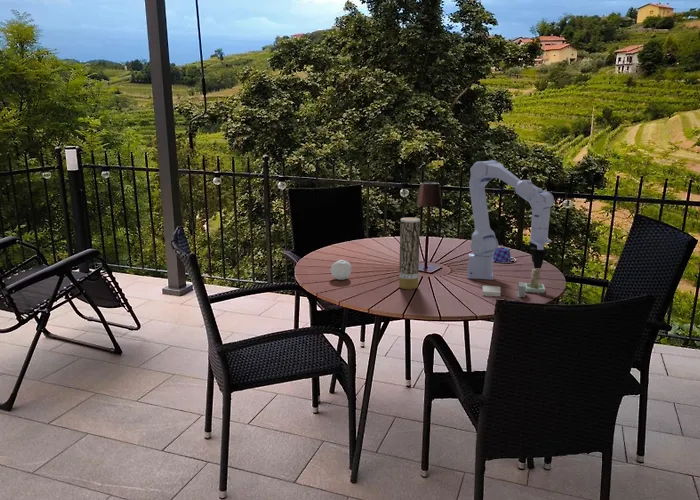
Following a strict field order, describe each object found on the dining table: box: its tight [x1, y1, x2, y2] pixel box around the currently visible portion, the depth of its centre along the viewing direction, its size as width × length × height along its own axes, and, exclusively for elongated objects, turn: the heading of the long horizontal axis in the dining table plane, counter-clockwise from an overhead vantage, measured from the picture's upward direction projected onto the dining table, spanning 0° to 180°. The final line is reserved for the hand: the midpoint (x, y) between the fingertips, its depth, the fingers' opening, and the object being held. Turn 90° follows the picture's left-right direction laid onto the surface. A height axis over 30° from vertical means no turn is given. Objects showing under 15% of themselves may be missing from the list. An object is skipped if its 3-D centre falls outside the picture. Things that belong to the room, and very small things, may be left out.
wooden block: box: [517, 281, 526, 298], centre depth 190 cm, size 2×5×4 cm, turn 167°
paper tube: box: [398, 217, 421, 291], centre depth 196 cm, size 7×7×25 cm
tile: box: [481, 285, 502, 297], centre depth 192 cm, size 6×7×2 cm
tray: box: [525, 282, 546, 294], centre depth 196 cm, size 6×6×2 cm
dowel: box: [530, 268, 541, 289], centre depth 195 cm, size 3×3×7 cm
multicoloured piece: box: [493, 246, 517, 264], centre depth 236 cm, size 12×12×5 cm
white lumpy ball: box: [330, 259, 352, 281], centre depth 208 cm, size 8×8×8 cm
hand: (536, 265), depth 194 cm, fingers open, 7 cm apart
